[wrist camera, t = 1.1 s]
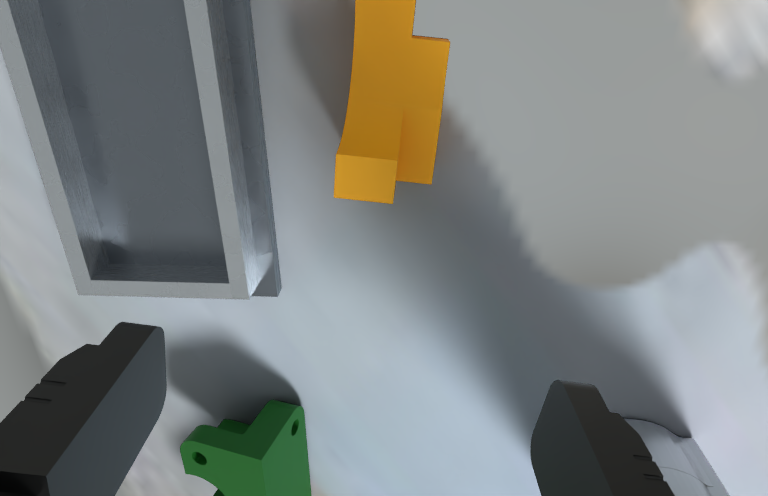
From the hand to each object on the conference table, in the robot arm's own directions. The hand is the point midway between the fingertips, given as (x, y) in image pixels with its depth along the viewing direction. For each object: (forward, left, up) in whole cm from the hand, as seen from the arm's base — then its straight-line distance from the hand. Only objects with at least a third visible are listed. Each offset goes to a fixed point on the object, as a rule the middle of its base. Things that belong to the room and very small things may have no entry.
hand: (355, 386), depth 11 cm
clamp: (+10, +23, -19) cm, 31 cm away
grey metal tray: (+13, -1, -19) cm, 23 cm away
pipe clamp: (0, -5, -19) cm, 20 cm away
